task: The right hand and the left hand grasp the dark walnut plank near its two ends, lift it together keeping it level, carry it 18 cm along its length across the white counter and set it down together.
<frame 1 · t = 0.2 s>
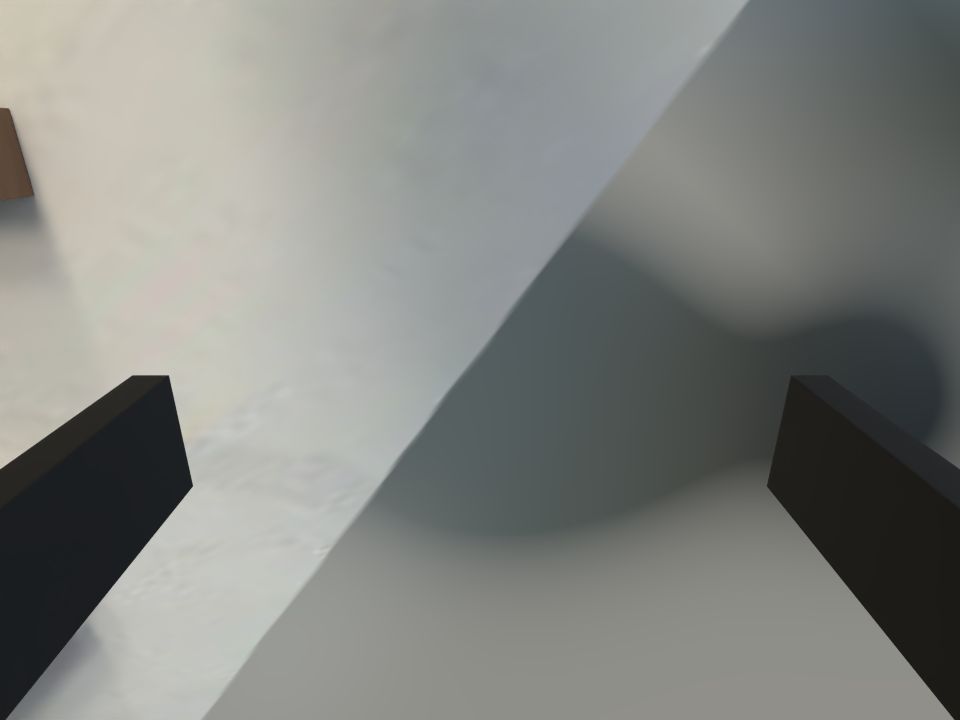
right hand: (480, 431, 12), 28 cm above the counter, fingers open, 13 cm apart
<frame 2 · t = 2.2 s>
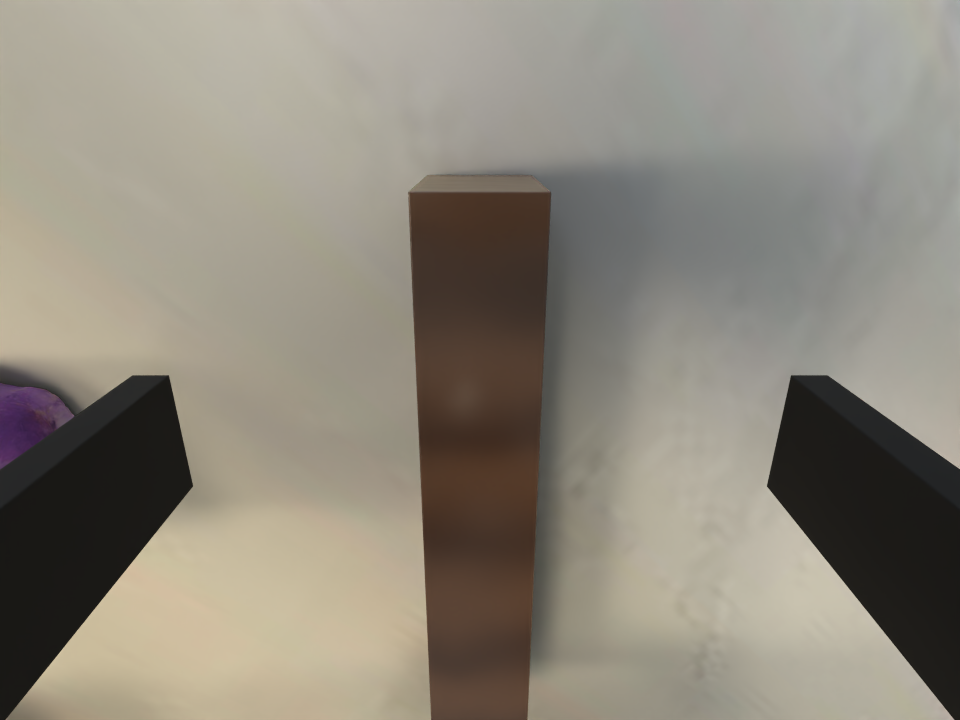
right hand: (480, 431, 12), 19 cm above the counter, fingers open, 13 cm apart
plank: (479, 457, 34), on the counter
figurine: (37, 442, 34), on the counter
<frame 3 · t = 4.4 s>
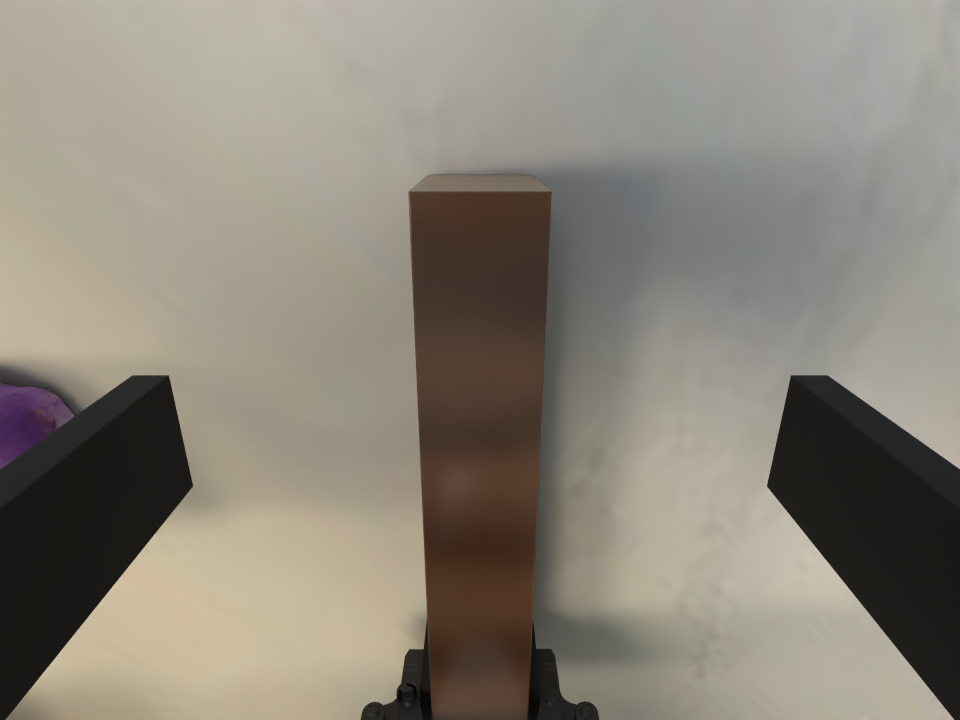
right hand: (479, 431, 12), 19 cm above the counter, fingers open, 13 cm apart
plank: (479, 456, 34), on the counter, touching left hand
figurine: (37, 441, 34), on the counter
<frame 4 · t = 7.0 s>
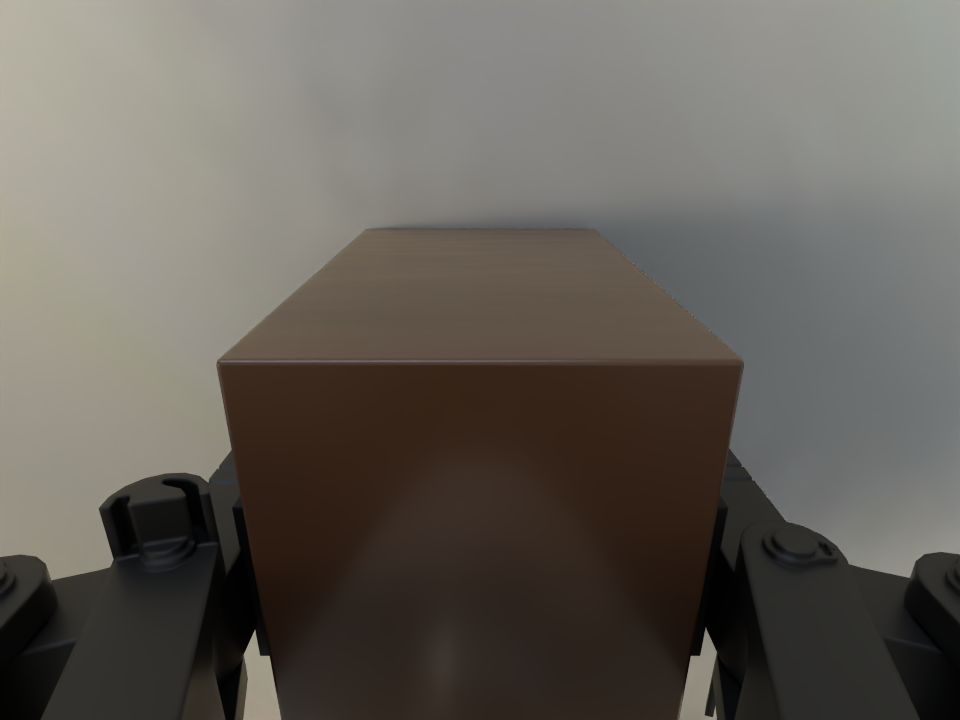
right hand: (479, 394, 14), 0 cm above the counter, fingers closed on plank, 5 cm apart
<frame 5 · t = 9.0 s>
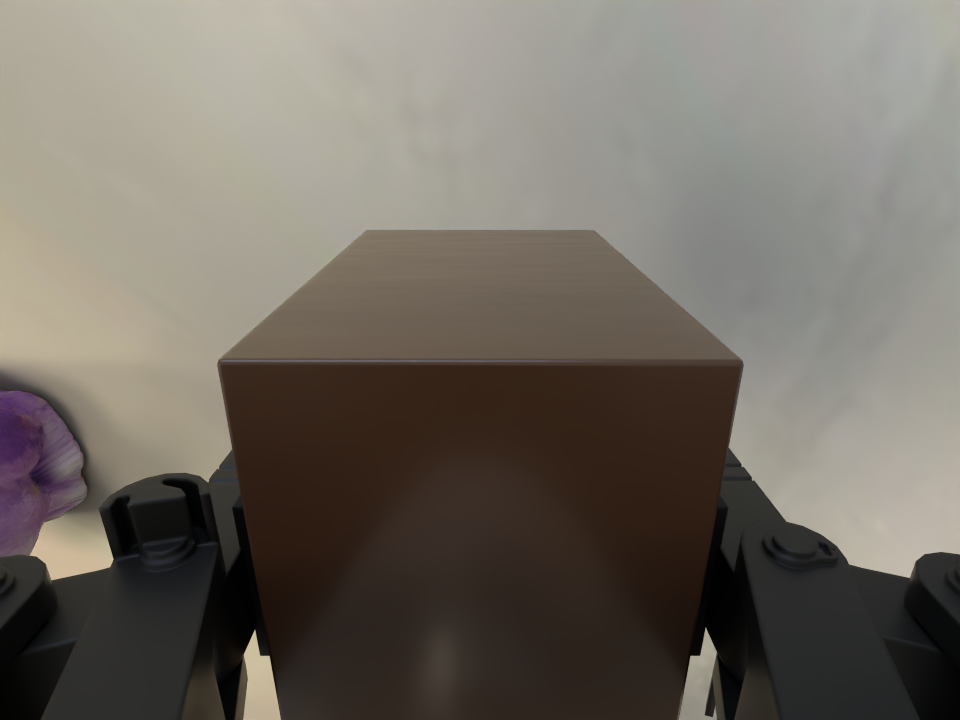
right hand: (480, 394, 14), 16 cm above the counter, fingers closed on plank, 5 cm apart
figurine: (24, 447, 33), on the counter
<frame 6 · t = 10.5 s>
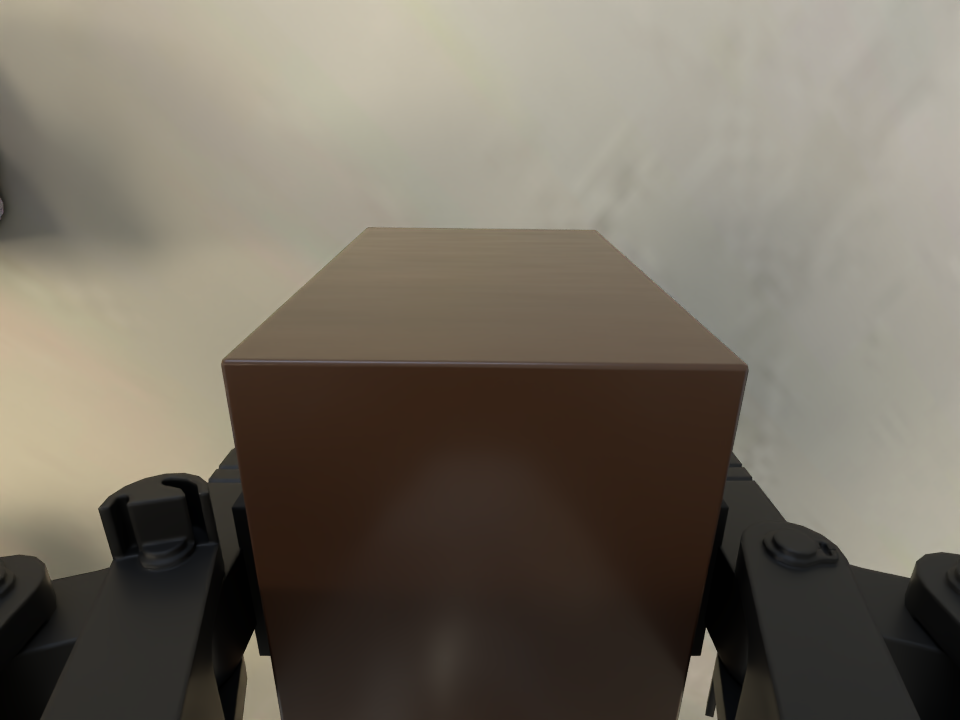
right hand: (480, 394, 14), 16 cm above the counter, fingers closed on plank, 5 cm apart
plank: (475, 719, 19), point 15 cm above the counter, touching right hand, left hand
when the left hand's fingers open (1 cm above the counter, at t = 13.9 s): plank stays where it is, on the counter.
when the right hand's fingers open (1 cm above the counter, at t = 13.9 s): plank stays where it is, on the counter.
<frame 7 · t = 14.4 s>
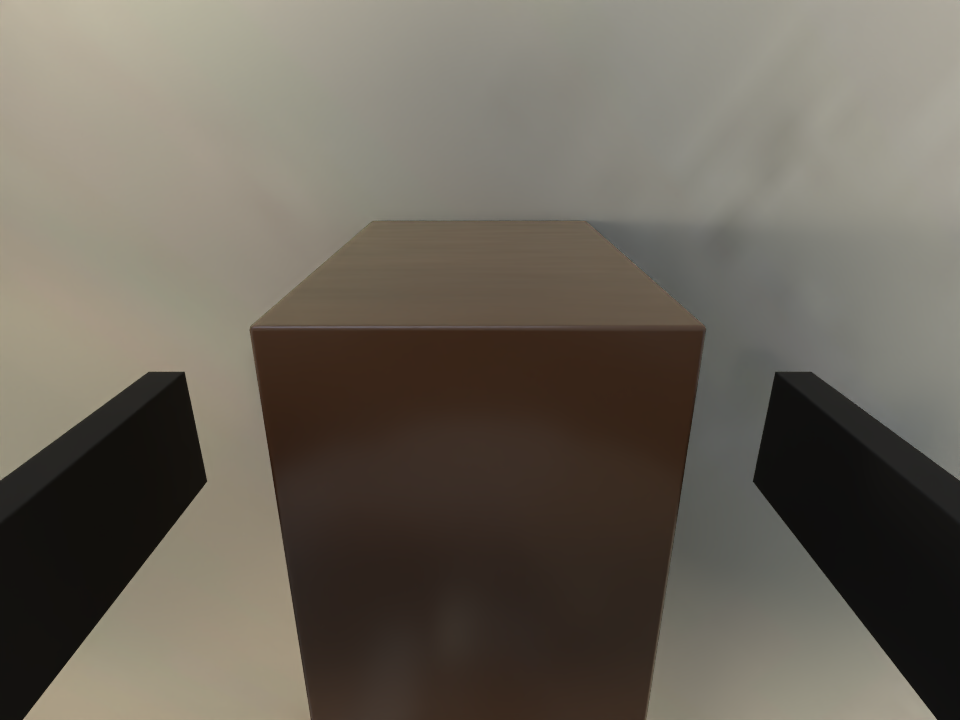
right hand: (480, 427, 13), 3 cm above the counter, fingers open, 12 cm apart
plank: (479, 693, 20), on the counter
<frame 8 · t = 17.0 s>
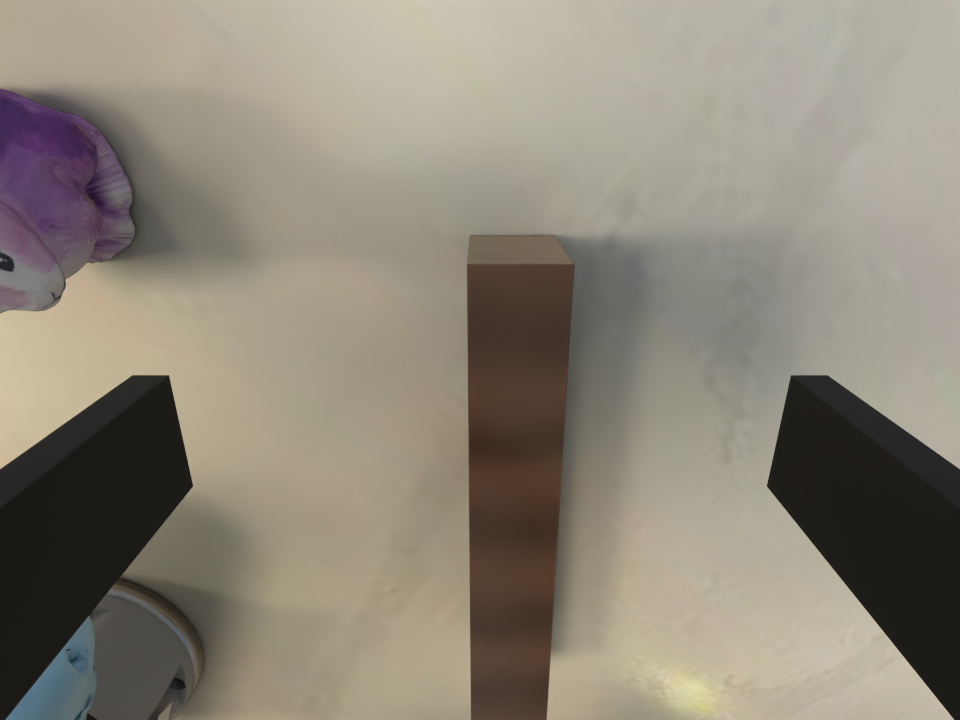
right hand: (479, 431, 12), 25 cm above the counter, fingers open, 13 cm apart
plank: (507, 460, 41), on the counter
figurine: (75, 184, 34), on the counter
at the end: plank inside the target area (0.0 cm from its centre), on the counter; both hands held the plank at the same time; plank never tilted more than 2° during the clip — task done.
